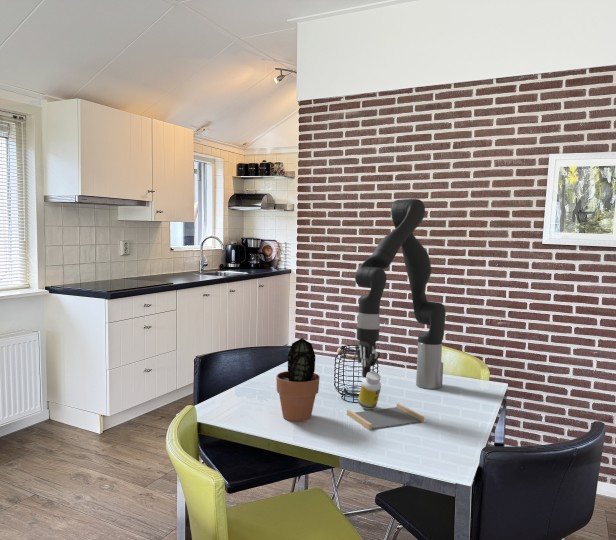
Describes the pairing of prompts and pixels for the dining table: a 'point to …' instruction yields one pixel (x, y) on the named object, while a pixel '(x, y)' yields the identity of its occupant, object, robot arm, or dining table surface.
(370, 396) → the pill bottle
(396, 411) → the grey flat rectangular board
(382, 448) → the dining table surface
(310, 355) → the potted plant
